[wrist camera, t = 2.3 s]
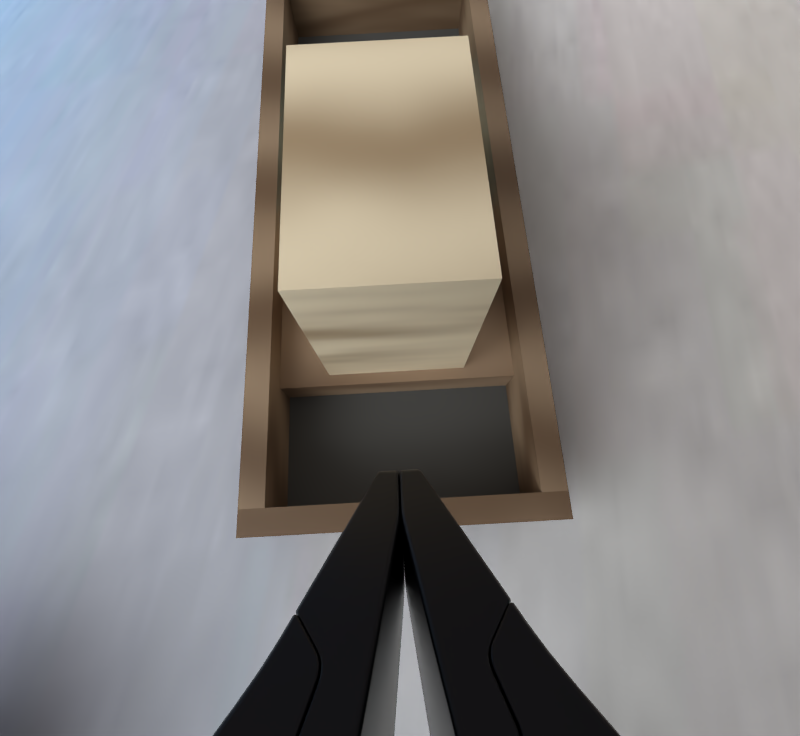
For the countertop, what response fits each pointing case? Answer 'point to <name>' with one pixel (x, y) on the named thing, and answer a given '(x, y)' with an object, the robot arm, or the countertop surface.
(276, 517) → the box
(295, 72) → the maple block
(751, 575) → the countertop surface
